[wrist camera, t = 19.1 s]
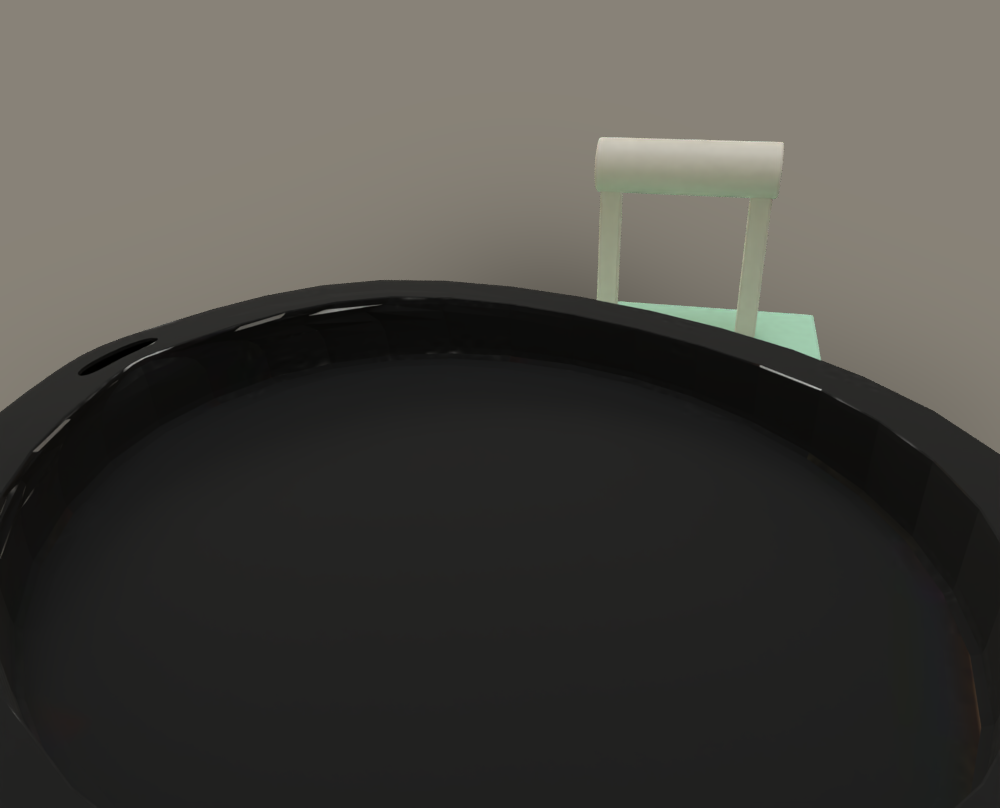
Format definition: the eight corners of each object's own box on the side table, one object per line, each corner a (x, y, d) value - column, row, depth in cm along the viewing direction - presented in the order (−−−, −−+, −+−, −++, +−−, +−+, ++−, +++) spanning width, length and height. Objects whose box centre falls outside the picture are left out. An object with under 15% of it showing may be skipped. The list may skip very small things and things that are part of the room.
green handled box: (552, 314, 35) (553, 122, 32) (810, 333, 33) (843, 129, 29) (459, 494, 24) (444, 226, 20) (844, 543, 22) (906, 251, 18)
